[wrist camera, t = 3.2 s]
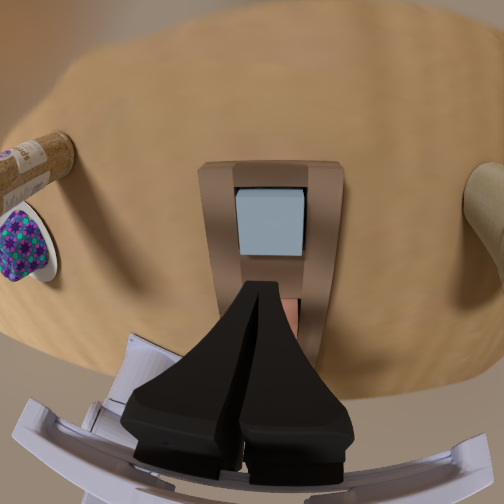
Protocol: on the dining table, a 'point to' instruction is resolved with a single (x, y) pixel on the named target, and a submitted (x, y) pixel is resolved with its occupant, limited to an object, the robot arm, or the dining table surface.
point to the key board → (276, 266)
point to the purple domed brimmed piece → (25, 246)
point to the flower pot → (487, 210)
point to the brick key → (291, 312)
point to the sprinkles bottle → (33, 167)
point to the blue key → (270, 220)
